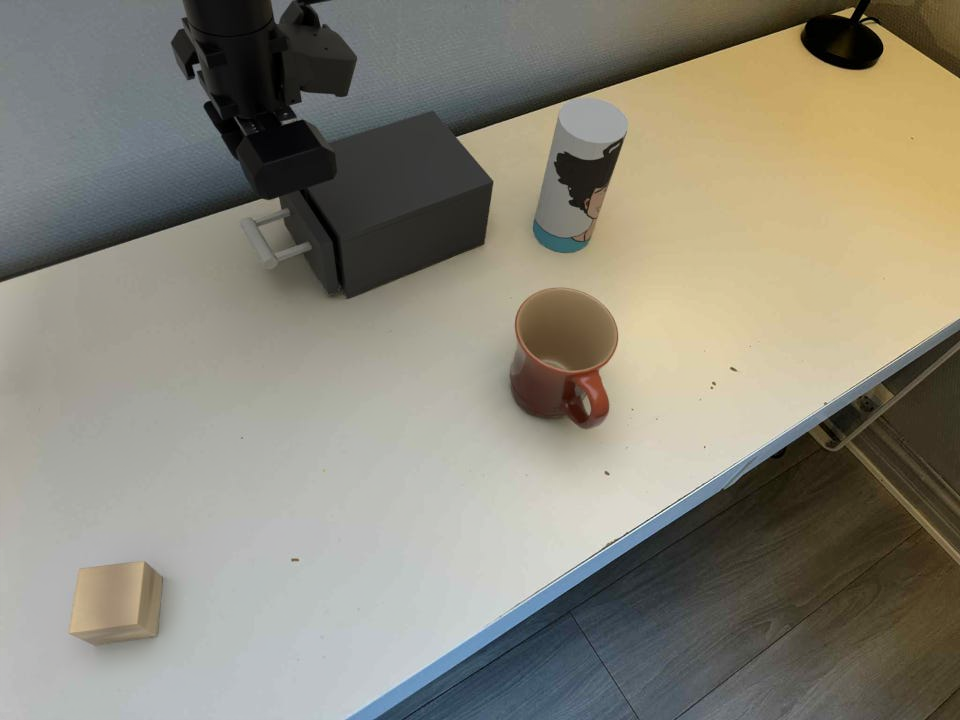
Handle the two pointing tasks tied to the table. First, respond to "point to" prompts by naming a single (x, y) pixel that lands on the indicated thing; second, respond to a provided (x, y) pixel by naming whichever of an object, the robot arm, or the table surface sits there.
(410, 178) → the cabinet
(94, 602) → the block
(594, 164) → the cup
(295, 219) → the drawer
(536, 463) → the table surface
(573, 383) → the mug
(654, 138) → the table surface
